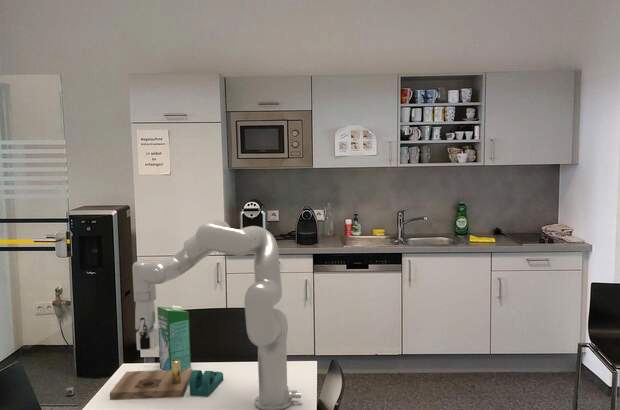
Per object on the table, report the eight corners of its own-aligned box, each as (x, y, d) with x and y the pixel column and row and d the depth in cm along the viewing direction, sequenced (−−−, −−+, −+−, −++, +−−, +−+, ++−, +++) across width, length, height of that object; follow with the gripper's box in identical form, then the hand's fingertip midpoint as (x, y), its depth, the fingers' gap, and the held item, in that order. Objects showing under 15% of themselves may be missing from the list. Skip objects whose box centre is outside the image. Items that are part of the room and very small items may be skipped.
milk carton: (191, 367, 217) (188, 306, 216) (170, 373, 211) (167, 310, 210) (179, 362, 224) (177, 302, 222) (159, 368, 218) (157, 306, 216)
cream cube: (158, 344, 197) (157, 327, 197) (154, 349, 191) (153, 332, 191) (141, 344, 197) (140, 328, 197) (136, 350, 191) (136, 333, 191)
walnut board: (192, 375, 209) (192, 369, 209) (183, 397, 189) (182, 390, 189) (126, 378, 208) (126, 371, 208) (110, 399, 188) (109, 392, 188)
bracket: (208, 397, 189) (207, 375, 188) (189, 396, 190) (189, 374, 190) (225, 377, 206) (225, 357, 206) (209, 376, 208) (208, 356, 207)
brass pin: (181, 380, 197) (180, 359, 197) (180, 384, 194) (179, 362, 194) (173, 381, 197) (172, 359, 196) (171, 384, 194) (170, 362, 194)
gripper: (140, 291, 202) (143, 339, 203) (127, 302, 184) (130, 354, 185) (161, 290, 202) (163, 338, 203) (149, 301, 185) (152, 353, 186)
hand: (147, 345), depth 194 cm, fingers closed on cream cube, 6 cm apart
